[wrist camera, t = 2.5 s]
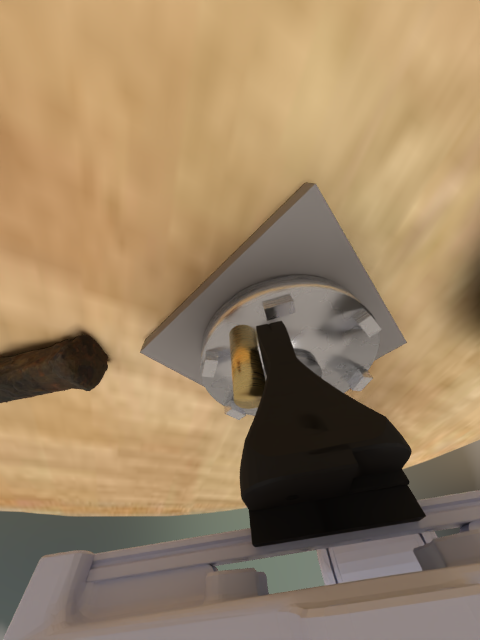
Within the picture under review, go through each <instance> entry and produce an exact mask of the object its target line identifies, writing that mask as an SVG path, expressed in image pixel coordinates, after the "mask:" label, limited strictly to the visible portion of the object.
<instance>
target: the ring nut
mask: <svg viewBox="0 0 480 640" xmlns="http://www.w3.org/2000/svg"><path fill="white" fill-rule="evenodd" d="M278 321H282V322H283V323H284V325H285V327H286V328H287V331H288V334H289V337H290V340H291V343H292V346H293V349H294V352H295V355H296V357H297V358H298V359H299V360H300V361H301V362H302V363H303V364H304V365H306V366H307V367H308V368H309V369H310V370H312V371H313V372H314V373H315V374H317V375H318V376H319V377H321V378H322V379H323V380H325V381H326V382H328V383H329V384H331V385H332V386H334V387H335V388H337V389H338V390H340V391H341V392H343V393H345V392H346V391H348V390H349V389H350V388H351V389H352V390H355V391H361V390H362V389H363V388H364V387H365V386H366V385H367V384H368V383H369V382H370V381H371V380H372V379H373V377H372V376H371V375H370V374H369V372H368V370H369V368H370V366H371V365H372V363H373V361H374V359H375V357H376V355H377V352H378V348H379V341H380V335H379V331H380V330H382V329H381V328H380V327H379V325H378V324H377V322H376V320H375V318H374V317H373V315H372V313H371V312H370V311H369V310H368V309H367V308H366V307H365V306H364V305H363V304H362V303H361V302H360V301H359V300H357V299H356V298H355V297H354V296H353V295H352V294H351V293H350V292H348V291H347V290H346V289H344V288H343V287H342V286H340V285H339V284H336V283H334V282H332V281H330V280H327V279H324V278H321V277H315V276H309V275H290V276H281V277H276V278H272V279H268V280H265V281H262V282H259V283H256V284H254V285H252V286H250V287H248V288H246V289H244V290H242V291H241V292H239V293H238V294H236V295H235V296H233V297H232V298H231V299H229V300H228V301H227V302H226V303H225V304H223V306H222V307H221V308H220V309H219V310H218V311H217V312H216V313H215V315H214V316H213V318H212V319H211V321H210V322H209V324H208V326H207V328H206V331H205V334H204V337H203V343H202V354H201V365H200V370H201V377H202V381H203V384H204V386H205V388H206V390H207V391H208V392H209V394H210V395H211V396H212V397H213V398H214V399H215V400H216V401H218V402H219V403H220V404H222V405H223V406H225V414H227V415H229V416H231V417H234V418H236V419H238V420H240V419H241V418H243V417H244V416H246V414H248V415H254V416H255V415H256V412H257V409H258V406H259V403H260V400H261V397H262V394H263V390H264V386H265V382H266V378H267V375H266V372H265V369H264V365H263V361H262V356H261V352H260V346H259V341H258V336H257V331H256V326H259V325H263V324H268V325H269V324H270V323H273V322H278Z"/></svg>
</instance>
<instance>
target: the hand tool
mask: <svg viewBox="0 0 480 640" xmlns="http://www.w3.org/2000/svg"><path fill="white" fill-rule="evenodd" d="M107 359H108V357H107V355H106V354H105V353H104V352H103V350H102V348H101V347H100V346H99V345H98V343H97V342H96V341H95V340H93V339H92V338H91V337H90V336H87V335H80V336H78V337H76V338H75V339H74V340H73V341H71V340H69V339H67V340H64V341H63V342H61V343H57V344H55V345H54V346H53V347H49V348H46V349H40V350H34V351H29V352H26V353H21V354H19V355H16V356H11V357H0V403H3V402H8V401H12V400H18V399H22V398H30V397H33V396H37V395H43V394H47V393H52V392H56V391H63V390H64V391H65V390H68V389H71V388H74V389H83V390H85V391H91V389H93V388H95V386H97V385H98V384H99V383H100V381H101V379H102V378H103V376H104V373H105V371H106V370H107V368H108V365H107Z"/></svg>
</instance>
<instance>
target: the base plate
mask: <svg viewBox="0 0 480 640" xmlns="http://www.w3.org/2000/svg"><path fill="white" fill-rule="evenodd" d="M290 275H309V276H315V277H321V278H324V279H327V280H330V281H332V282H334V283H336V284H339V285H340V286H342V287H343V288H344V289H346V290H347V291H348V292H350V293H351V294H352V295H353V296H354V297H355V298H356V299H357V300H359V301H360V302H361V303H362V304H363V305H364V306H365V307H366V308H367V309H368V310H369V311H370V312H371V313H372V315H373V317H374V318H375V320H376V322H377V324H378V325H379V327H380V328H381V329H382V330H380V331H379V335H380V341H379V348H378V352H377V355H376V357H375V359H374V360H376V359H378V358H380V357H381V356H383V355H385V354H387V353H389V352H391V351H392V350H394V349H396V348H398V347H400V346H401V345H403V344H405V343H407V342H406V340H405V339H404V337H403V335H402V333H401V332H400V330H399V328H398V326H397V325H396V323H395V321H394V319H393V318H392V316H391V314H390V312H389V311H388V309H387V307H386V305H385V304H384V302H383V300H382V298H381V297H380V295H379V293H378V292H377V290H376V288H375V286H374V285H373V283H372V281H371V279H370V278H369V276H368V274H367V272H366V271H365V269H364V267H363V265H362V264H361V262H360V260H359V258H358V257H357V255H356V253H355V251H354V250H353V248H352V246H351V244H350V243H349V241H348V239H347V237H346V236H345V234H344V232H343V230H342V229H341V227H340V225H339V224H338V222H337V220H336V218H335V217H334V215H333V213H332V211H331V210H330V208H329V206H328V204H327V203H326V201H325V199H324V197H323V196H322V194H321V192H320V190H319V189H318V187H317V185H316V184H314V183H305V184H304V185H303V186H301V187H300V188H299V189H298V190H297V191H296V192H295V193H294V194H293V195H292V196H291V197H290V198H289V199H288V200H287V201H286V202H285V203H284V204H283V205H282V206H281V207H280V208H279V209H278V210H277V211H276V212H275V213H274V214H273V215H272V216H271V217H270V218H269V219H268V220H267V221H266V222H265V223H264V224H263V225H262V226H261V227H260V228H259V229H258V230H257V231H256V232H255V233H254V234H253V235H252V236H251V237H250V238H249V239H248V240H246V241H245V242H244V243H243V244H242V245H241V246H240V247H239V248H238V249H237V250H236V251H235V252H234V253H233V254H232V255H231V256H230V257H229V258H228V259H227V260H226V261H225V262H224V263H223V264H222V265H221V266H220V267H219V268H218V269H217V270H216V271H215V272H214V273H213V274H212V275H211V276H210V277H209V278H208V279H207V280H206V281H205V282H204V283H203V284H202V285H201V286H200V287H199V288H198V289H197V290H196V291H195V292H194V293H192V294H191V295H190V296H189V297H188V298H187V299H186V300H185V301H184V302H183V303H182V304H181V305H180V306H179V307H178V308H177V309H176V310H175V311H174V312H173V313H172V314H171V315H170V316H169V317H168V318H167V319H166V320H165V321H164V322H163V323H162V324H161V325H160V326H159V327H158V328H157V329H156V330H155V331H154V332H153V333H152V334H151V335H150V336H149V337H148V338H147V339H146V340H145V342H144V344H143V346H142V349H141V351H140V353H142V354H144V355H146V356H148V357H149V358H151V359H153V360H155V361H157V362H159V363H161V364H163V365H165V366H166V367H168V368H170V369H172V370H174V371H176V372H178V373H180V374H181V375H183V376H185V377H187V378H189V379H191V380H193V381H195V382H197V383H198V384H200V385H202V386H204V384H203V381H202V377H201V370H200V365H201V354H202V343H203V337H204V334H205V331H206V328H207V326H208V324H209V322H210V321H211V319H212V318H213V316H214V315H215V313H216V312H217V311H218V310H219V309H220V308H221V307H222V306H223V304H225V303H226V302H227V301H228V300H229V299H231V298H232V297H233V296H235V295H236V294H238V293H239V292H241V291H242V290H244V289H246V288H248V287H250V286H252V285H254V284H256V283H259V282H262V281H265V280H268V279H272V278H276V277H281V276H290ZM204 387H205V386H204Z"/></svg>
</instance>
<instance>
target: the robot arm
mask: <svg viewBox="0 0 480 640" xmlns="http://www.w3.org/2000/svg"><path fill="white" fill-rule="evenodd" d="M256 331H257V336H258V341H259V346H260V352H261V356H262V361H263V365H264V369H265V372H266V375H267V378H266V382H265V386H264V390H263V394H262V397H261V400H260V403H259V406H258V409H257V412H256V415H255V418H254V420H253V423H252V425H251V427H250V430H249V432H248V434H247V437H246V439H245V444H244V449H243V454H242V459H241V466H240V488H241V497H242V500H243V502H244V503H245V505H246V506H247V507H248V509H249V516H250V527H251V528H247V529H242V530H235V531H230V532H224V533H218V534H211V535H205V536H200V537H193V538H187V539H182V540H176V541H169V542H164V543H157V544H151V545H145V546H139V547H133V548H127V549H121V550H116V551H109V552H103V553H98V554H93V552H90V551H83V550H78V551H70V552H63V553H57V554H51V555H45V556H43V557H42V558H41V559H40V560H39V563H38V565H37V567H36V569H35V571H34V573H33V575H32V578H31V580H30V582H29V584H28V586H27V588H26V591H25V593H24V595H23V597H22V599H21V601H20V604H19V606H18V608H17V610H16V613H15V615H14V617H13V619H12V621H11V623H10V625H9V627H8V630H7V632H6V634H5V636H4V638H3V640H480V490H476V491H471V492H465V493H458V494H452V495H446V496H440V497H434V498H429V499H422V500H416V498H415V497H414V495H413V494H412V492H411V490H410V488H409V487H408V484H409V480H408V478H407V477H406V475H405V473H404V472H403V470H402V467H403V466H404V465H405V463H406V462H407V461H408V459H409V458H410V455H411V448H410V446H409V445H408V444H407V442H406V441H405V439H404V438H403V436H402V435H401V434H400V433H399V432H398V430H397V429H396V428H395V427H394V426H393V425H392V423H391V422H390V421H389V420H388V419H387V418H386V417H385V416H383V415H381V414H379V413H377V412H376V411H374V410H372V409H370V408H368V407H366V406H365V405H363V404H361V403H359V402H357V401H356V400H354V399H353V398H351V397H349V396H348V395H346V394H344V393H343V392H341V391H340V390H338V389H337V388H335V387H334V386H332V385H331V384H329V383H328V382H326V381H325V380H323V379H322V378H321V377H319V376H318V375H317V374H315V373H314V372H313V371H312V370H310V369H309V368H308V367H307V366H306V365H304V364H303V363H302V362H301V361H300V360H299V359H298V358H297V357H296V355H295V352H294V349H293V346H292V343H291V340H290V337H289V334H288V331H287V328H286V327H285V325H284V323H283V322H282V321H278V322H273V323H270V324H269V325H268V324H263V325H259V326H256ZM456 527H460V531H459V532H460V533H458V534H453V535H449V536H445V537H440V538H438V537H437V535H436V534H435V533H434V531H438V530H444V529H450V528H456ZM312 550H317V555H318V560H319V564H320V568H321V572H322V576H323V579H324V583H325V586H319V587H313V588H306V589H301V590H294V591H288V592H281V593H275V594H269V593H268V587H267V578H266V574H265V573H264V572H256V570H255V569H254V568H247V569H235V570H224V571H218V569H217V568H216V567H215V566H218V565H224V564H230V563H236V562H242V561H249V560H255V559H262V558H268V557H274V556H280V555H286V554H293V553H299V552H306V551H312Z"/></svg>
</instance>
